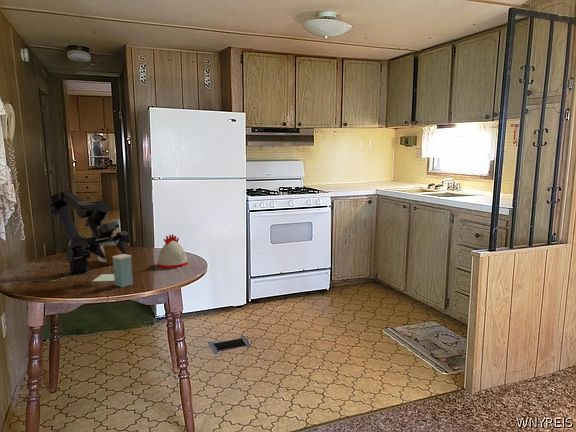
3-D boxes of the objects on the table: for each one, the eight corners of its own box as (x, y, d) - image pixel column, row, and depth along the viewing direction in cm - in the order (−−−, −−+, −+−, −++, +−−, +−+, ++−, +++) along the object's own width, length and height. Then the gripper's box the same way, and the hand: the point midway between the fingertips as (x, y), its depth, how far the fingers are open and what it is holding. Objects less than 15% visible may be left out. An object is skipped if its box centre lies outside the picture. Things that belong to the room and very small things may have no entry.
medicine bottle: (119, 259, 214) (117, 236, 212) (106, 263, 208) (104, 239, 206) (110, 258, 218) (108, 235, 216) (97, 261, 212) (95, 237, 210)
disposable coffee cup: (123, 265, 204) (121, 240, 202) (102, 266, 201) (100, 242, 200) (125, 260, 213) (123, 237, 211) (104, 261, 210) (103, 238, 209)
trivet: (92, 281, 178) (92, 281, 178) (101, 274, 188) (101, 274, 188) (116, 281, 178) (116, 280, 178) (124, 274, 188) (124, 273, 188)
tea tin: (114, 285, 173) (112, 256, 171) (125, 281, 177) (123, 253, 175) (122, 287, 170) (119, 258, 168) (133, 283, 174) (131, 255, 172)
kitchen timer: (152, 266, 202) (150, 235, 200) (175, 260, 213) (173, 230, 211) (170, 270, 194) (168, 238, 192) (193, 264, 205) (192, 233, 202)
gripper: (82, 218, 167) (101, 248, 163) (124, 212, 182) (142, 240, 178) (74, 236, 173) (91, 265, 168) (115, 229, 188) (132, 256, 183)
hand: (115, 256), depth 174 cm, fingers open, 9 cm apart
